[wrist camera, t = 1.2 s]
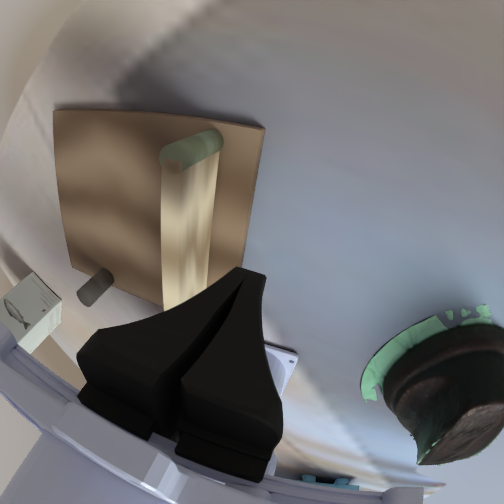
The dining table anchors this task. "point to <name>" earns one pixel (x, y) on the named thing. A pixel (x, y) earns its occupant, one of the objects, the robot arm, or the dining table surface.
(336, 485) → the teakettle
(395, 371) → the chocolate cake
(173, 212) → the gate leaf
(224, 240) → the board
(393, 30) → the dining table surface
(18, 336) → the supplement box
